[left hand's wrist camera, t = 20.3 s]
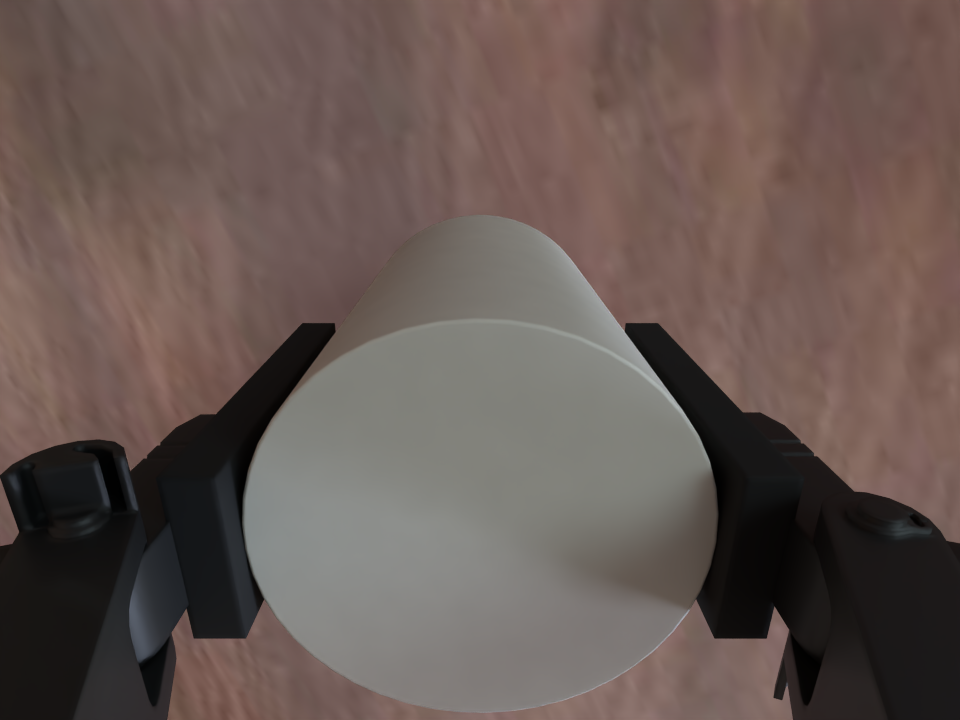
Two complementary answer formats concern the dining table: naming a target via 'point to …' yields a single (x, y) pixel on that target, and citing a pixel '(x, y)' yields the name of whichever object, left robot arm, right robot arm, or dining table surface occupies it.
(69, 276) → the dining table surface
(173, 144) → the dining table surface
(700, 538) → the can
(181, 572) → the left robot arm
